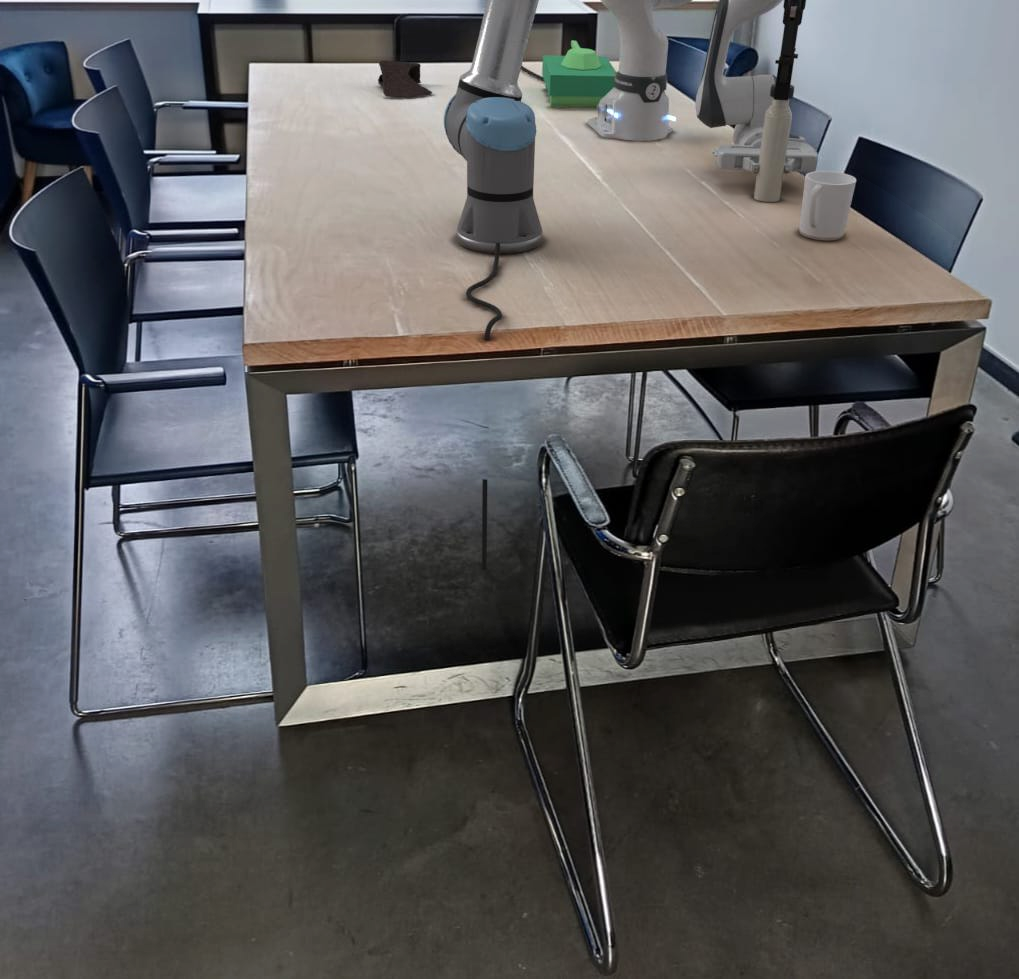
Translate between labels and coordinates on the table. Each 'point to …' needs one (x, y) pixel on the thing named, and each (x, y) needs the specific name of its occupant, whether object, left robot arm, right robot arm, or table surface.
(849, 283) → the table surface
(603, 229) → the table surface
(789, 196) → the table surface
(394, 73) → the axe head
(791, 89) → the cap
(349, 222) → the table surface
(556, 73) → the toy tank
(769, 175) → the bottle
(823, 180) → the mug
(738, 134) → the right robot arm
